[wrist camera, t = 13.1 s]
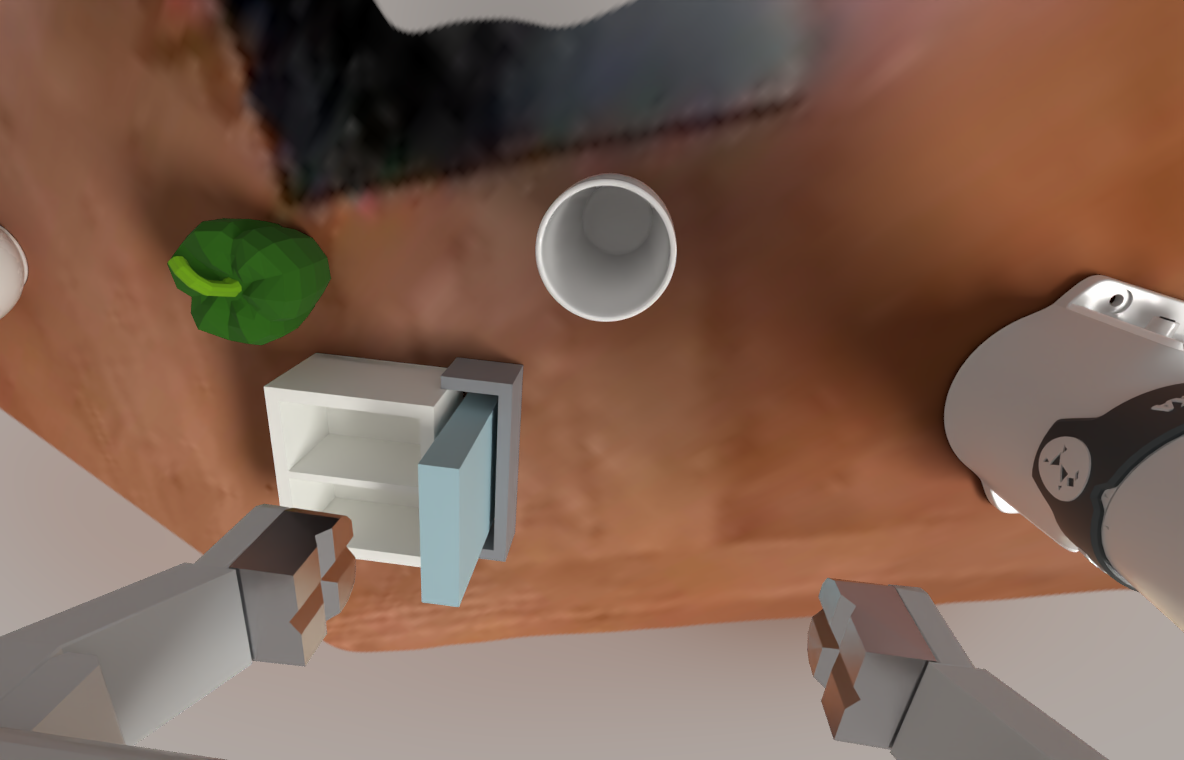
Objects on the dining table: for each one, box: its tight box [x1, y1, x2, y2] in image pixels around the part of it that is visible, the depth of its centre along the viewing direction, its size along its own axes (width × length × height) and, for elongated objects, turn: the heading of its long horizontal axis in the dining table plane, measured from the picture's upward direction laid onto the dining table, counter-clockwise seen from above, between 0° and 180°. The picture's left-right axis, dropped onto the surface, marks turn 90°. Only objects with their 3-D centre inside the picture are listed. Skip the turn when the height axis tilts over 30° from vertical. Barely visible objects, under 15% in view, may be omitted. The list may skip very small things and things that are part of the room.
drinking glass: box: [535, 173, 677, 322], centre depth 34 cm, size 7×7×15 cm
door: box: [418, 392, 499, 607], centre depth 43 cm, size 3×11×12 cm, turn 174°
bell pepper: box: [167, 218, 331, 345], centre depth 39 cm, size 8×8×10 cm
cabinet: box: [264, 353, 523, 567], centre depth 46 cm, size 17×16×7 cm
